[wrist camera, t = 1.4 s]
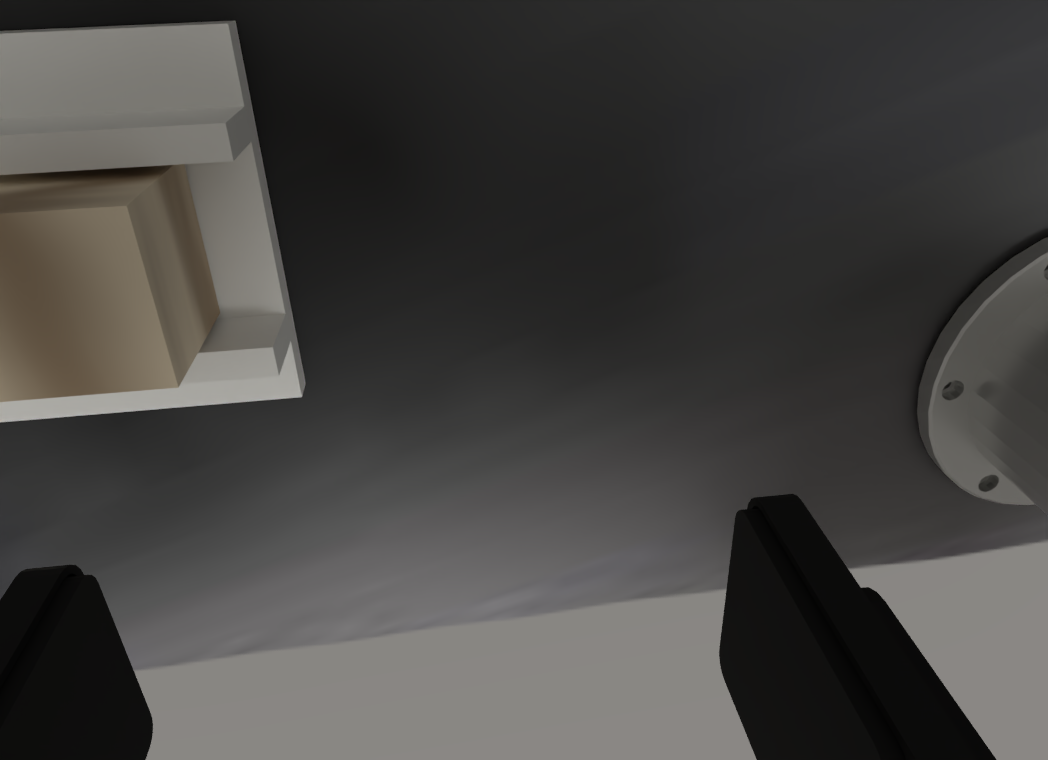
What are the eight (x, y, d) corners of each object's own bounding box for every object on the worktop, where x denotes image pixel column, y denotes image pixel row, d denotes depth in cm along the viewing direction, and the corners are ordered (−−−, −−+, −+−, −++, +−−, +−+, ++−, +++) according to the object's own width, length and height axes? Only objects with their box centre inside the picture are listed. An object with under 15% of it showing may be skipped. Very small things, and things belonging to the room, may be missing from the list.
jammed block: (182, 157, 23) (126, 205, 19) (220, 312, 25) (178, 387, 21) (4, 167, 23) (-95, 219, 18) (60, 324, 25) (-16, 403, 21)
